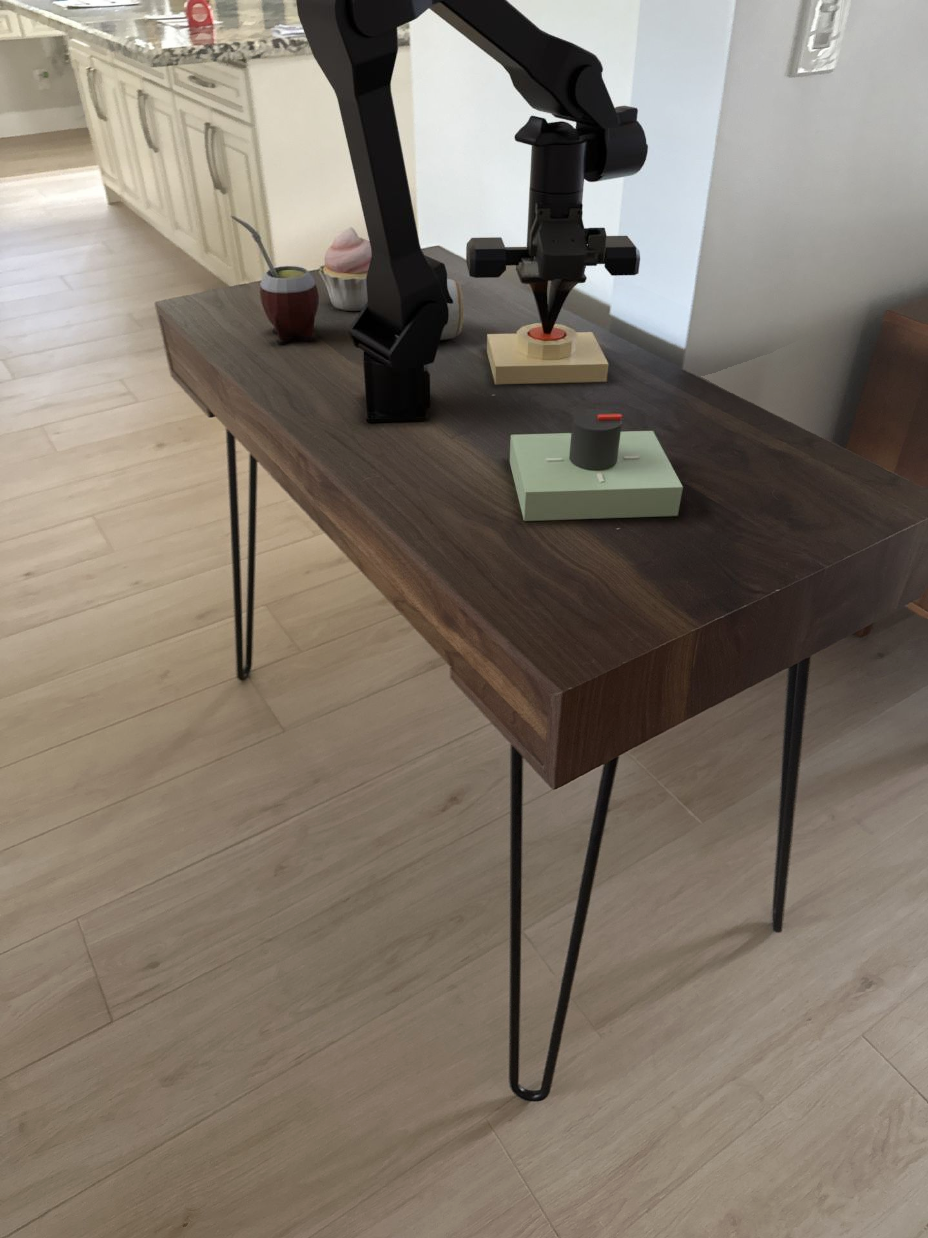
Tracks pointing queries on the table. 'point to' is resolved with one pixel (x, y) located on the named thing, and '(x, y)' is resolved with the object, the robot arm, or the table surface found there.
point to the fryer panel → (593, 479)
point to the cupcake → (347, 270)
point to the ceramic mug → (454, 311)
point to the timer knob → (595, 439)
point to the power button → (553, 336)
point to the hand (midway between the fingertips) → (546, 332)
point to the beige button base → (546, 357)
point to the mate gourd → (287, 297)
